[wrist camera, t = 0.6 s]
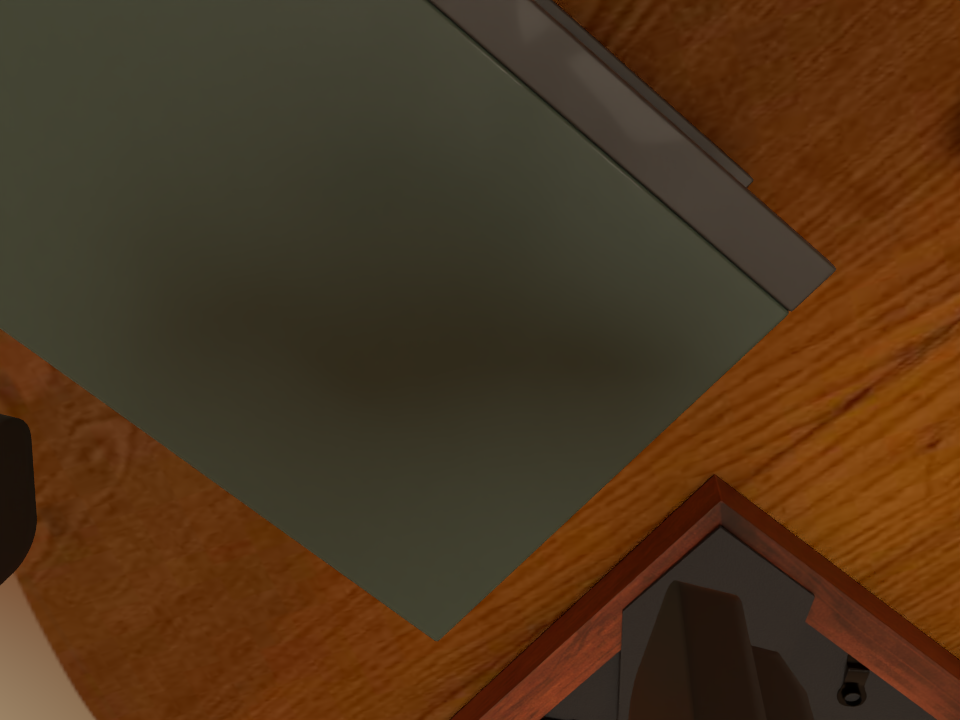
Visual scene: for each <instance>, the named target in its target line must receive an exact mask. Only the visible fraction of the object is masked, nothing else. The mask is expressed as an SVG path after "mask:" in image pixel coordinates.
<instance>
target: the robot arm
mask: <svg viewBox="0 0 960 720" xmlns="http://www.w3.org/2000/svg"><path fill="white" fill-rule="evenodd" d="M36 525H37V515H36V501H35V486H34V471H33V457H32V442H31V433H30V430H29V427H28V426H27V424H26V423H25V422H24V421H23V420H21V419H19V418H15V417H10V416H6V415H2V414H0V585H1V584H2V583H3V582H4V581H5V580H6V579H7V578H8V577H9V576H10V575H11V574H12V573H13V572H14V571H15V570H16V569H17V568H18V567H19V566H20V564H21V563H22V562H23V560H24V558H25V557H26V555H27V553H28V551H29V549H30V547H31V545H32V542H33V539H34V536H35V531H36ZM628 720H814V717H813V713H812V710H811V706H810V703H809V699H808V695H807V692H806V691H805V689H804V688H803V686H802V685H801V684H800V682H799V681H798V679H797V678H796V676H795V675H794V674H793V672H792V671H791V669H790V668H789V667H788V665H787V664H786V662H785V661H784V659H783V658H782V657H781V655H780V654H779V652H776V651H772V650H768V649H764V648H760V647H756V646H752V645H751V643H750V638H749V634H748V629H747V624H746V619H745V615H744V610H743V606H742V602H741V600H740V598H739V597H738V596H737V595H734V594H730V593H726V592H722V591H717V590H713V589H709V588H705V587H701V586H697V585H693V584H689V583H685V582H680V581H676V580H674V581H673V582H672V583H671V584H670V585H669V587H668V589H667V591H666V594H665V596H664V599H663V602H662V605H661V608H660V610H659V613H658V616H657V619H656V621H655V624H654V627H653V630H652V632H651V635H650V638H649V641H648V644H647V646H646V649H645V652H644V655H643V657H642V660H641V663H640V666H639V669H638V671H637V674H636V678H635V681H634V686H633V690H632V695H631V701H630V708H629V718H628Z"/></svg>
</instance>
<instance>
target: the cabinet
mask: <svg viewBox="0 0 960 720" xmlns="http://www.w3.org/2000/svg"><path fill="white" fill-rule="evenodd" d="M752 182H753V178H752V177H751V176H750V175H749V174H748V173H746V172H745V171H744V170H743V169H742V168H741V167H740V166H739V165H737V164H736V163H735V162H734V161H733V160H732V159H731V158H730V157H728V156H727V155H726V154H725V153H724V152H723V151H722V150H720V149H719V148H718V147H717V146H716V145H715V144H714V143H713V142H711V141H710V140H709V139H708V138H707V137H706V136H705V135H704V134H702V133H701V132H700V131H699V130H698V129H697V128H696V127H695V126H693V125H692V124H691V123H690V122H689V121H688V120H687V119H686V118H684V117H683V116H682V115H681V114H680V113H679V112H678V111H676V110H675V109H674V108H673V107H672V106H671V105H670V104H669V103H667V102H666V101H665V100H664V99H663V98H662V97H661V96H660V95H658V94H657V93H656V92H655V91H654V90H653V89H652V88H651V87H649V86H648V85H647V84H646V83H645V82H644V81H643V80H642V79H640V78H639V77H638V76H637V75H636V74H635V73H634V72H632V71H631V70H630V69H629V68H628V67H627V66H626V65H625V64H623V63H622V62H621V61H620V60H619V59H618V58H617V57H616V56H614V55H613V54H612V53H611V52H610V51H609V50H608V49H607V48H605V47H604V46H603V45H602V44H601V43H600V42H599V41H598V40H596V39H595V38H594V37H593V36H592V35H591V34H590V33H588V32H587V31H586V30H585V29H584V28H583V27H582V26H581V25H579V24H578V23H577V22H576V21H575V20H574V19H573V18H572V17H570V16H569V15H568V14H567V13H566V12H565V11H564V10H563V9H561V8H560V7H559V6H558V5H557V4H556V3H555V2H553V1H552V0H0V329H2V330H3V331H5V332H6V333H7V334H9V335H10V336H12V337H13V338H14V339H16V340H17V341H19V342H20V343H21V344H23V345H24V346H26V347H27V348H28V349H30V350H31V351H32V352H34V353H35V354H37V355H38V356H39V357H41V358H42V359H44V360H45V361H46V362H48V363H49V364H51V365H52V366H53V367H55V368H56V369H58V370H59V371H60V372H62V373H63V374H64V375H66V376H67V377H69V378H70V379H71V380H73V381H74V382H76V383H77V384H78V385H80V386H81V387H83V388H84V389H85V390H87V391H88V392H90V393H91V394H92V395H94V396H95V397H97V398H98V399H99V400H101V401H102V402H103V403H105V404H106V405H108V406H109V407H110V408H112V409H113V410H115V411H116V412H117V413H119V414H120V415H122V416H123V417H124V418H126V419H127V420H129V421H130V422H131V423H133V424H134V425H135V426H137V427H138V428H140V429H141V430H142V431H144V432H145V433H147V434H148V435H149V436H151V437H152V438H154V439H155V440H156V441H158V442H159V443H161V444H162V445H163V446H165V447H166V448H167V449H169V450H170V451H172V452H173V453H174V454H176V455H177V456H179V457H180V458H181V459H183V460H184V461H186V462H187V463H188V464H190V465H191V466H193V467H194V468H195V469H197V470H198V471H199V472H201V473H202V474H204V475H205V476H206V477H208V478H209V479H211V480H212V481H213V482H215V483H216V484H218V485H219V486H220V487H222V488H223V489H225V490H226V491H227V492H229V493H230V494H232V495H233V496H234V497H236V498H237V499H238V500H240V501H241V502H243V503H244V504H245V505H247V506H248V507H250V508H251V509H252V510H254V511H255V512H257V513H258V514H259V515H261V516H262V517H264V518H265V519H266V520H268V521H269V522H270V523H272V524H273V525H275V526H276V527H277V528H279V529H280V530H282V531H283V532H284V533H286V534H287V535H289V536H290V537H291V538H293V539H294V540H296V541H297V542H298V543H300V544H301V545H302V546H304V547H305V548H307V549H308V550H309V551H311V552H312V553H314V554H315V555H316V556H318V557H319V558H321V559H322V560H323V561H325V562H326V563H328V564H329V565H330V566H332V567H333V568H334V569H336V570H337V571H339V572H340V573H341V574H343V575H344V576H346V577H347V578H348V579H350V580H351V581H353V582H354V583H355V584H357V585H358V586H360V587H361V588H362V589H364V590H365V591H367V592H368V593H369V594H371V595H372V596H373V597H375V598H376V599H378V600H379V601H380V602H382V603H383V604H385V605H386V606H387V607H389V608H390V609H392V610H393V611H394V612H396V613H397V614H399V615H400V616H401V617H403V618H404V619H405V620H407V621H408V622H410V623H411V624H412V625H414V626H415V627H417V628H418V629H419V630H421V631H422V632H424V633H425V634H426V635H428V636H429V637H431V638H432V639H433V640H435V641H439V640H440V639H441V638H442V637H443V636H444V635H445V634H446V633H447V632H448V631H450V630H451V629H452V628H453V627H454V626H455V625H456V624H457V623H458V622H459V621H460V620H461V619H462V618H463V617H465V616H466V615H467V614H468V613H469V612H470V611H471V610H472V609H473V608H474V607H475V606H476V605H477V604H478V603H480V602H481V601H482V600H483V599H484V598H485V597H486V596H487V595H488V594H489V593H490V592H491V591H492V590H493V589H495V588H496V587H497V586H498V585H499V584H500V583H501V582H502V581H503V580H504V579H505V578H506V577H507V576H508V575H510V574H511V573H512V572H513V571H514V570H515V569H516V568H517V567H518V566H519V565H520V564H521V563H522V562H523V561H525V560H526V559H527V558H528V557H529V556H530V555H531V554H532V553H533V552H534V551H535V550H536V549H537V548H538V547H540V546H541V545H542V544H543V543H544V542H545V541H546V540H547V539H548V538H549V537H550V536H551V535H552V534H553V533H555V532H556V531H557V530H558V529H559V528H560V527H561V526H562V525H563V524H564V523H565V522H566V521H567V520H568V519H570V518H571V517H572V516H573V515H574V514H575V513H576V512H577V511H578V510H579V509H580V508H581V507H582V506H583V505H585V504H586V503H587V502H588V501H589V500H590V499H591V498H592V497H593V496H594V495H595V494H596V493H597V492H598V491H600V490H601V489H602V488H603V487H604V486H605V485H606V484H607V483H608V482H609V481H610V480H611V479H612V478H613V477H615V476H616V475H617V474H618V473H619V472H620V471H621V470H622V469H623V468H624V467H625V466H626V465H627V464H628V463H629V462H631V461H632V460H633V459H634V458H635V457H636V456H637V455H638V454H639V453H640V452H641V451H642V450H643V449H644V448H646V447H647V446H648V445H649V444H650V443H651V442H652V441H653V440H654V439H655V438H656V437H657V436H658V435H659V434H661V433H662V432H663V431H664V430H665V429H666V428H667V427H668V426H669V425H670V424H671V423H672V422H673V421H674V420H676V419H677V418H678V417H679V416H680V415H681V414H682V413H683V412H684V411H685V410H686V409H687V408H688V407H689V406H691V405H692V404H693V403H694V402H695V401H696V400H697V399H698V398H699V397H700V396H701V395H702V394H703V393H704V392H706V391H707V390H708V389H709V388H710V387H711V386H712V385H713V384H714V383H715V382H716V381H717V380H718V379H719V378H721V377H722V376H723V375H724V374H725V373H726V372H727V371H728V370H729V369H730V368H731V367H732V366H733V365H734V364H736V363H737V362H738V361H739V360H740V359H741V358H742V357H743V356H744V355H745V354H746V353H747V352H748V351H749V350H751V349H752V348H753V347H754V346H755V345H756V344H757V343H758V342H759V341H760V340H761V339H762V338H763V337H764V336H766V335H767V334H768V333H769V332H770V331H771V330H772V329H773V328H774V327H775V326H776V325H777V324H778V323H779V322H781V321H782V320H783V319H784V318H785V317H786V316H787V315H788V313H789V312H788V311H793V310H794V309H795V308H796V307H797V306H798V305H799V304H800V303H802V302H803V301H804V300H805V299H806V298H807V297H808V296H809V295H810V294H811V293H812V292H813V291H814V290H815V289H817V288H818V287H819V286H820V285H821V284H822V283H823V282H824V281H825V280H826V279H827V278H828V277H829V276H830V275H832V274H833V273H834V272H835V270H836V268H835V266H834V265H833V264H832V263H831V262H830V261H829V260H828V259H827V258H825V257H824V256H823V255H822V254H821V253H820V252H819V251H817V250H816V249H815V248H814V247H813V246H812V245H811V244H810V243H808V242H807V241H806V240H805V239H804V238H803V237H802V236H800V235H799V234H798V233H797V232H796V231H795V230H794V229H793V228H791V227H790V226H789V225H788V224H787V223H786V222H785V221H783V220H782V219H781V218H780V217H779V216H778V215H777V214H776V213H774V212H773V211H772V210H771V209H770V208H769V207H768V206H766V205H765V204H764V203H763V202H762V201H761V200H760V199H759V198H757V197H756V196H755V195H754V194H753V193H752V192H751V191H749V190H748V189H747V187H748V186H749V185H750V184H751V183H752Z"/></svg>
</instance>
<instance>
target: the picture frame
mask: <svg viewBox="0 0 960 720" xmlns="http://www.w3.org/2000/svg"><path fill="white" fill-rule="evenodd" d="M674 580H676V581H680V582H685V583H689V584H693V585H697V586H701V587H705V588H709V589H713V590H717V591H722V592H726V593H730V594H734V595H737V596H738V597H739V598H740V600H741V602H742V606H743V610H744V615H745V619H746V624H747V629H748V634H749V638H750V643H751V645H752V646H756V647H760V648H764V649H768V650H772V651H776V652H779V654H780V655H781V657H782V658H783V659H784V661H785V662H786V664H787V665H788V667H789V668H790V669H791V671H792V672H793V674H794V675H795V676H796V678H797V679H798V681H799V682H800V684H801V685H802V686H803V688H804V689H805V691H806V692H807V695H808V699H809V703H810V706H811V710H812V713H813V717H814V720H960V660H958V659H957V658H956V657H954V656H953V655H952V654H950V653H949V652H948V651H947V650H945V649H944V648H943V647H941V646H940V645H939V644H937V643H936V642H935V641H933V640H932V639H931V638H929V637H928V636H927V635H925V634H924V633H923V632H921V631H920V630H919V629H918V628H916V627H915V626H914V625H912V624H911V623H910V622H908V621H907V620H906V619H904V618H903V617H902V616H900V615H899V614H898V613H896V612H895V611H894V610H892V609H891V608H890V607H889V606H887V605H886V604H885V603H883V602H882V601H881V600H879V599H878V598H877V597H875V596H874V595H873V594H871V593H870V592H869V591H867V590H866V589H865V588H863V587H862V586H861V585H860V584H858V583H857V582H856V581H854V580H853V579H852V578H850V577H849V576H848V575H846V574H845V573H844V572H842V571H841V570H840V569H838V568H837V567H836V566H834V565H833V564H832V563H831V562H829V561H828V560H827V559H825V558H824V557H823V556H821V555H820V554H819V553H817V552H816V551H815V550H813V549H812V548H811V547H809V546H808V545H807V544H805V543H804V542H803V541H802V540H800V539H799V538H798V537H796V536H795V535H794V534H792V533H791V532H790V531H788V530H787V529H786V528H784V527H783V526H782V525H780V524H779V523H778V522H776V521H775V520H774V519H773V518H771V517H770V516H769V515H767V514H766V513H765V512H763V511H762V510H761V509H759V508H758V507H757V506H755V505H754V504H753V503H751V502H750V501H749V500H747V499H746V498H745V497H744V496H742V495H741V494H740V493H738V492H737V491H736V490H734V489H733V488H732V487H730V486H729V485H728V484H726V483H725V482H724V481H722V480H721V479H720V478H718V477H717V476H716V475H714V476H712V477H711V478H710V479H709V480H708V481H707V482H706V483H705V484H704V485H703V486H702V487H701V488H700V489H698V490H697V491H696V492H695V493H694V494H693V495H692V496H691V497H690V498H689V499H688V500H687V501H686V502H684V503H683V504H682V505H681V506H680V507H679V508H678V509H677V510H676V511H675V512H674V513H673V514H671V515H670V516H669V517H668V518H667V519H666V520H665V521H664V522H663V523H662V524H661V525H660V526H659V527H657V528H656V529H655V530H654V531H653V532H652V533H651V534H650V535H649V536H648V537H647V538H646V539H645V540H643V541H642V542H641V543H640V544H639V545H638V546H637V547H636V548H635V549H634V550H633V551H632V552H630V553H629V554H628V555H627V556H626V557H625V558H624V559H623V560H622V561H621V562H620V563H619V564H618V565H616V566H615V567H614V568H613V569H612V570H611V571H610V572H609V573H608V574H607V575H606V576H605V577H604V578H602V579H601V580H600V581H599V582H598V583H597V584H596V585H595V586H594V587H593V588H592V589H591V590H590V591H588V592H587V593H586V594H585V595H584V596H583V597H582V598H581V599H580V600H579V601H578V602H577V603H575V604H574V605H573V606H572V607H571V608H570V609H569V610H568V611H567V612H566V613H565V614H564V615H563V616H561V617H560V618H559V619H558V620H557V621H556V622H555V623H554V624H553V625H552V626H551V627H550V628H549V629H547V630H546V631H545V632H544V633H543V634H542V635H541V636H540V637H539V638H538V639H537V640H536V641H534V642H533V643H532V644H531V645H530V646H529V647H528V648H527V649H526V650H525V651H524V652H523V653H522V654H520V655H519V656H518V657H517V658H516V659H515V660H514V661H513V662H512V663H511V664H510V665H509V666H508V667H506V668H505V669H504V670H503V671H502V672H501V673H500V674H499V675H498V676H497V677H496V678H495V679H493V680H492V681H491V682H490V683H489V684H488V685H487V686H486V687H485V688H484V689H483V690H482V691H481V692H479V693H478V694H477V695H476V696H475V697H474V698H473V699H472V700H471V701H470V702H469V703H468V704H467V705H465V706H464V707H463V708H462V709H461V710H460V711H459V712H458V713H457V714H456V715H455V716H454V717H453V718H451V719H450V720H628V718H629V708H630V701H631V695H632V690H633V686H634V681H635V678H636V674H637V671H638V669H639V666H640V663H641V660H642V657H643V655H644V652H645V649H646V646H647V644H648V641H649V638H650V635H651V632H652V630H653V627H654V624H655V621H656V619H657V616H658V613H659V610H660V608H661V605H662V602H663V599H664V596H665V594H666V591H667V589H668V587H669V585H670V584H671V583H672V582H673V581H674Z"/></svg>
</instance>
